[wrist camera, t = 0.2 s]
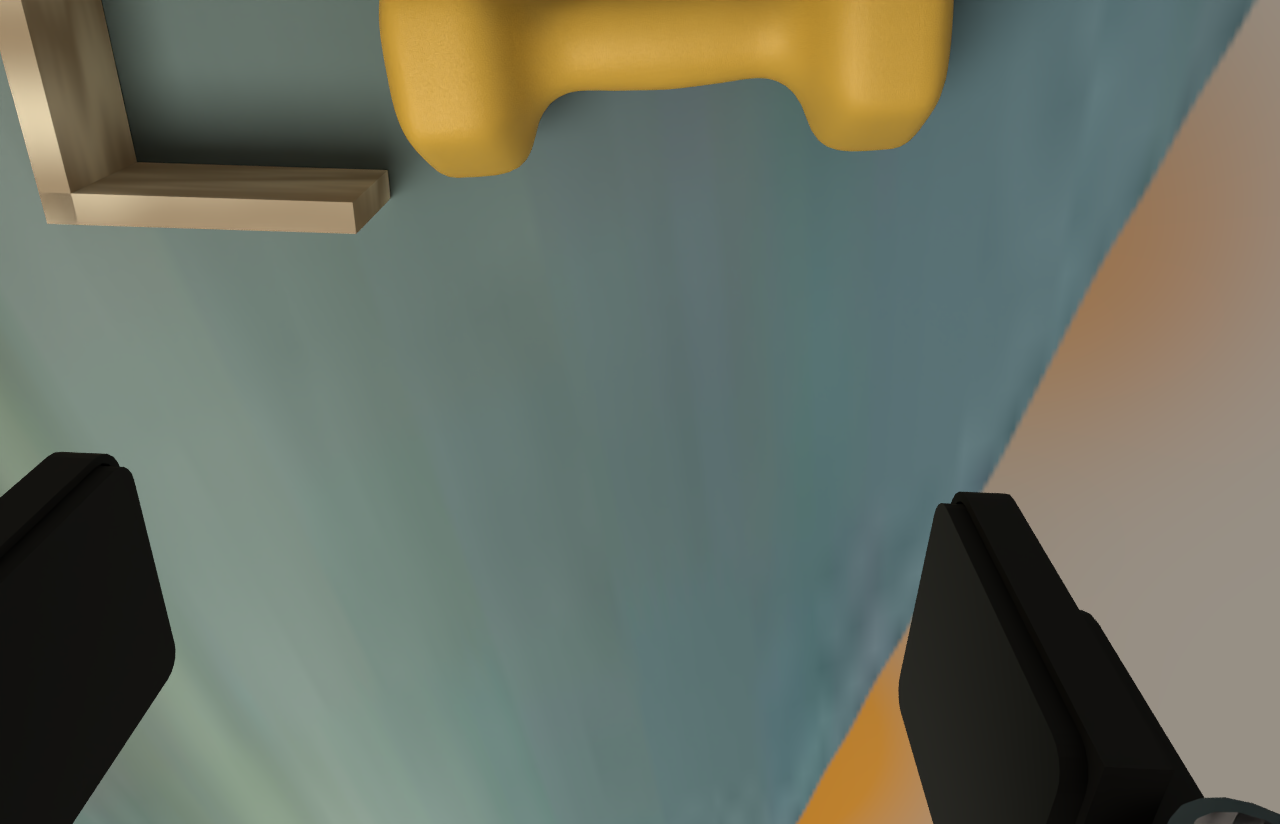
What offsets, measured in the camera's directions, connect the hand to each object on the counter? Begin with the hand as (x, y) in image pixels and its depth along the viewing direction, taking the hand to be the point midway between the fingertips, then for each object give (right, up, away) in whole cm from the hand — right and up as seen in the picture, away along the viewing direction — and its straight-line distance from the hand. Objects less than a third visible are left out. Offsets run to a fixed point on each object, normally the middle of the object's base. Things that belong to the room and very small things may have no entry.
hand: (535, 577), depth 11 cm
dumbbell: (+2, +17, +26) cm, 31 cm away
